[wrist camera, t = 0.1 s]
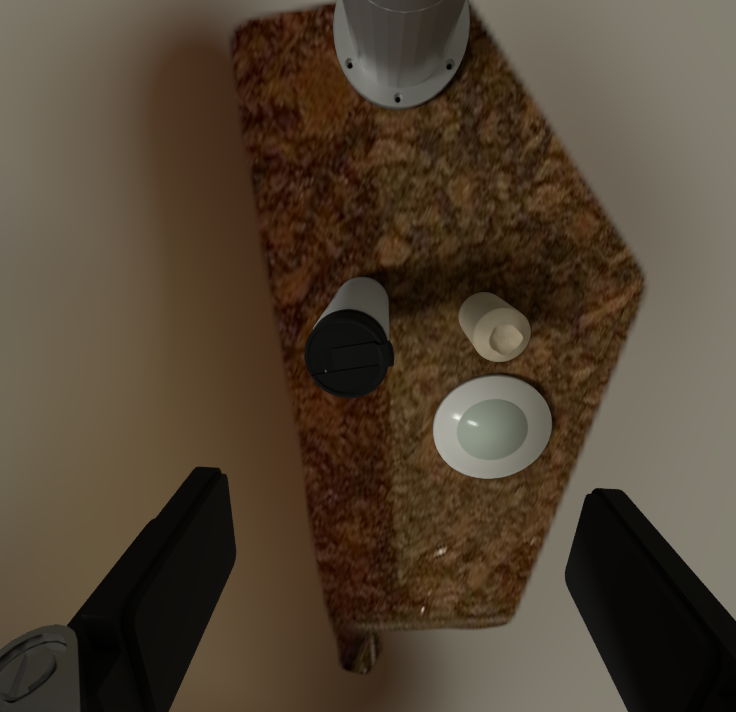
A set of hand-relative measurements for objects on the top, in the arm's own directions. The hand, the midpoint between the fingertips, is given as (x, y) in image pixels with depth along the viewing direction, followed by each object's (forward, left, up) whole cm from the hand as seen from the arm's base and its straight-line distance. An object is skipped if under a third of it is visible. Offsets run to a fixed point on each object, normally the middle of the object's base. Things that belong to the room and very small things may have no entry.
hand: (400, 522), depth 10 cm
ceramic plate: (+18, +14, -37) cm, 43 cm away
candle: (+3, +11, -37) cm, 39 cm away
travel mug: (+2, -3, -37) cm, 37 cm away
